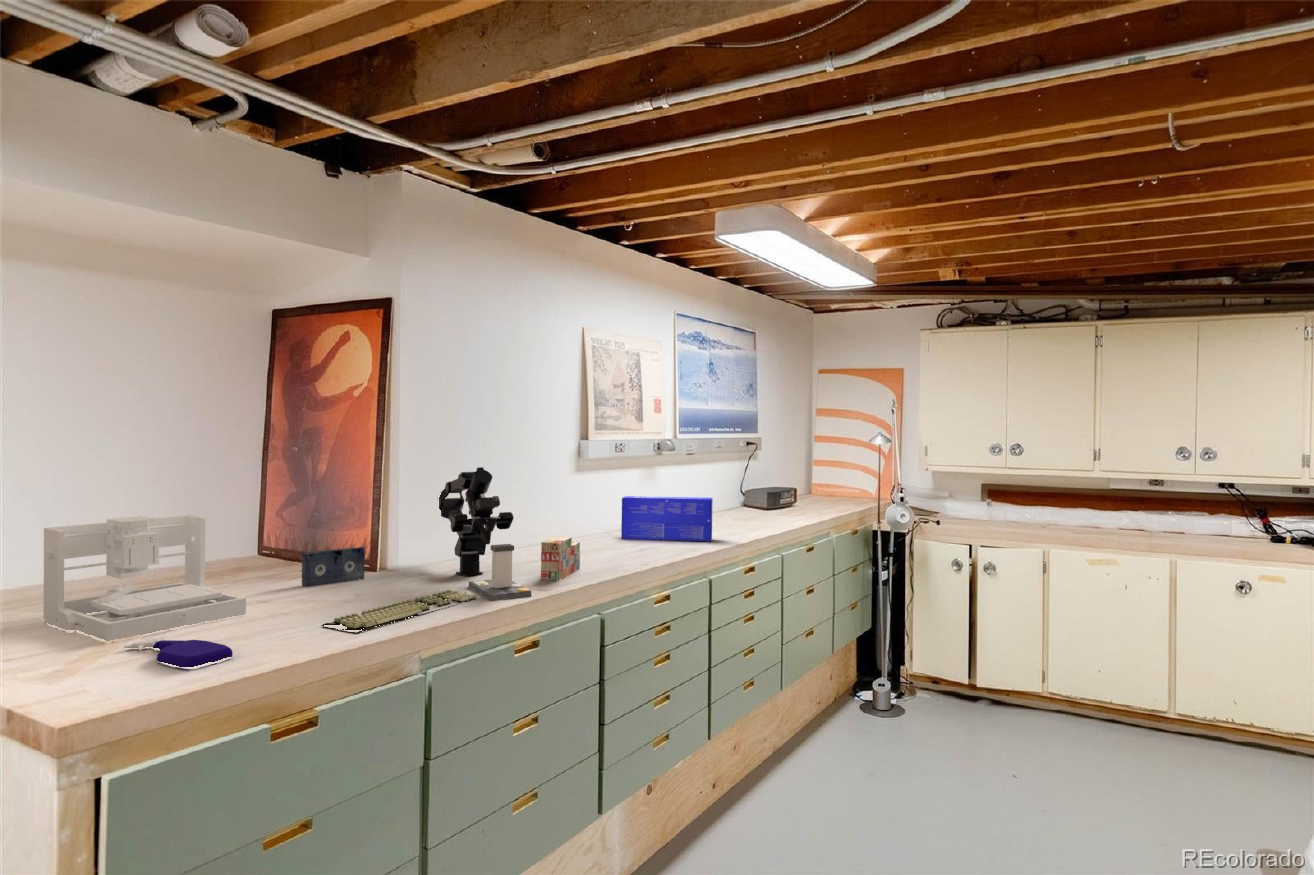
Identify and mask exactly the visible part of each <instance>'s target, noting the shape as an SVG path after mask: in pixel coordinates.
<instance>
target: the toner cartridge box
mask: <svg viewBox="0 0 1314 875" xmlns="http://www.w3.org/2000/svg"><path fill="white" fill-rule="evenodd" d="M713 500H714V499H713V497H701V496H700V497H699V496H698V497H695V496H694V497H693V496H692V497H690V496H642V495H641V496H639V495H638V496H637V495H624V496H623V497H622V498H621V529H620V531H621V532H620V533H621V535H620V536H621V540H633V541H662V540H674V541H673V542H682V541H684V542H709V541H711V542H712V541H713ZM676 540H677V541H676Z"/></svg>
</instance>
